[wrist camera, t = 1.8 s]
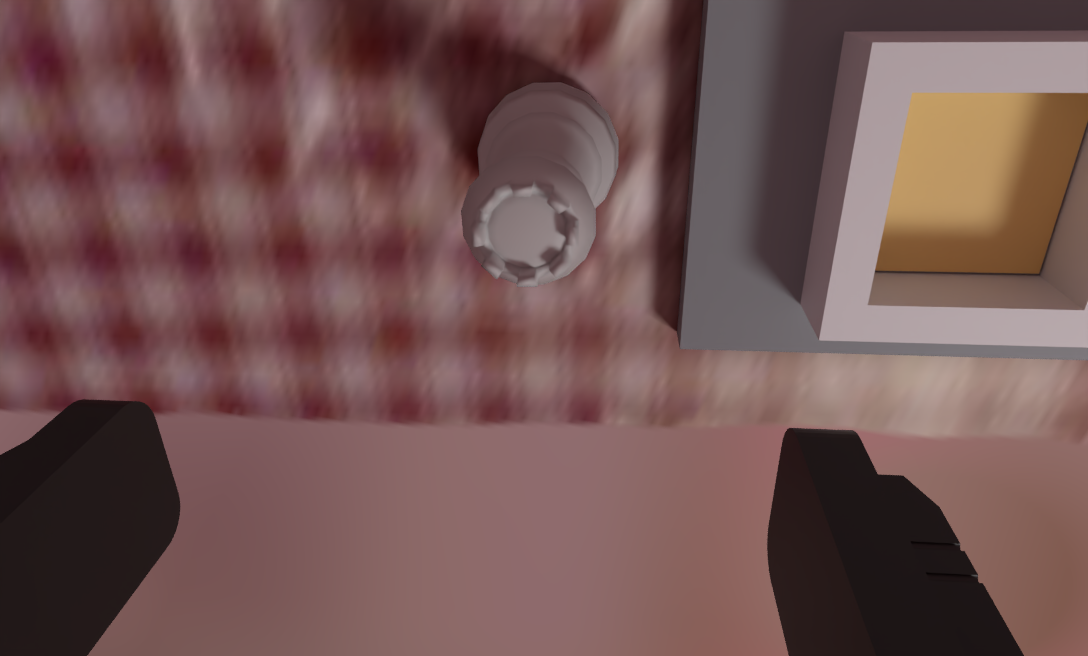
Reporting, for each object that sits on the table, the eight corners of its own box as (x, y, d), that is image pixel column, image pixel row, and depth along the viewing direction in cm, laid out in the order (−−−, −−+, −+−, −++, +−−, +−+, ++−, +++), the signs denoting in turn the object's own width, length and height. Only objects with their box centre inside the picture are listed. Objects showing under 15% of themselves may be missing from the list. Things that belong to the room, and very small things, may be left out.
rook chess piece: (490, 66, 23) (436, 122, 16) (632, 92, 23) (641, 159, 16) (474, 203, 25) (420, 306, 18) (604, 227, 25) (601, 339, 18)
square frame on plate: (677, 332, 27) (686, 387, 23) (706, -41, 21) (723, -37, 18) (1149, 344, 25) (1228, 404, 22) (1310, -48, 20) (1448, -45, 17)
